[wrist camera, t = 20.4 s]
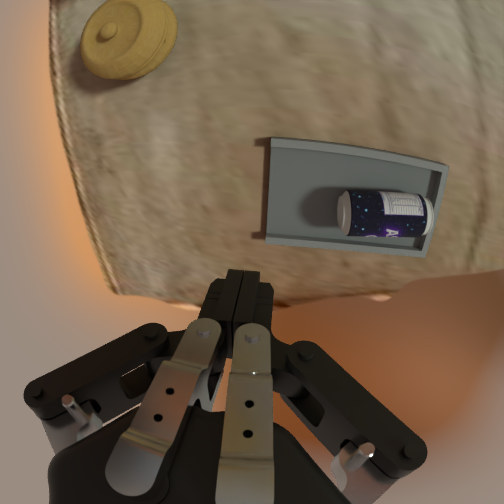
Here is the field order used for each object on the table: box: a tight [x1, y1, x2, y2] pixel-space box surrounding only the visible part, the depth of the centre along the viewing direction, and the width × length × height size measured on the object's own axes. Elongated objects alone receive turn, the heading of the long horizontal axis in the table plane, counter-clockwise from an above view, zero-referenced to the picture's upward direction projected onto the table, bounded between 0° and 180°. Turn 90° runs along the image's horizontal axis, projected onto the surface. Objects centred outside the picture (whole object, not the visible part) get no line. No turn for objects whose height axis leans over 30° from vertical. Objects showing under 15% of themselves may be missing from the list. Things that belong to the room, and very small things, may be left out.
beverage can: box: [337, 190, 434, 238], centre depth 33 cm, size 6×6×12 cm
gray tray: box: [265, 137, 449, 258], centre depth 35 cm, size 24×14×2 cm, turn 88°
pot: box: [80, 0, 178, 80], centre depth 23 cm, size 12×12×10 cm
